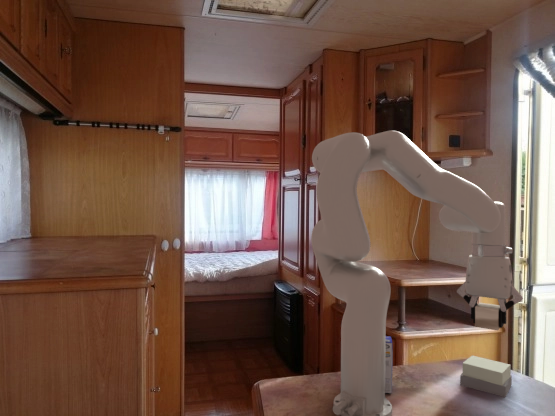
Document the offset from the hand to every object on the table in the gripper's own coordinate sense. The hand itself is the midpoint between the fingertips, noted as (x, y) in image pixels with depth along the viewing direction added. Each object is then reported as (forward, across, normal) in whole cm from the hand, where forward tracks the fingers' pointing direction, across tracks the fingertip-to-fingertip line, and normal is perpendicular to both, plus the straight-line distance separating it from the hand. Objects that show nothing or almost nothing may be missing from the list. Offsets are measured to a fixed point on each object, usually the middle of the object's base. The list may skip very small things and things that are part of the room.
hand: (488, 323), depth 102 cm
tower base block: (+16, 0, 0) cm, 16 cm away
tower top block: (+13, 0, +1) cm, 13 cm away
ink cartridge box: (+15, +22, +20) cm, 33 cm away
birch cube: (+1, 0, 0) cm, 1 cm away
